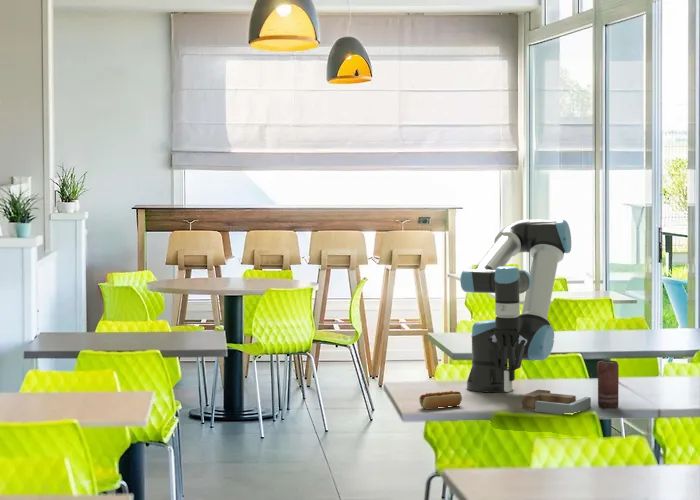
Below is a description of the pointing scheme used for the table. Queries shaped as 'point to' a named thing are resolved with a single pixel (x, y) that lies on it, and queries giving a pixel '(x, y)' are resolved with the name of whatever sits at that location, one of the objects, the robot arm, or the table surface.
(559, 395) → the t block
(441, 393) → the food
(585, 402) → the bracket
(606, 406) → the can
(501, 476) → the table surface
